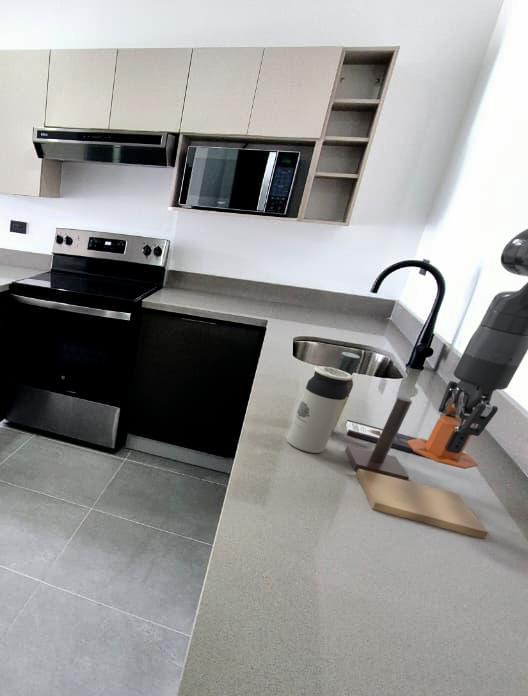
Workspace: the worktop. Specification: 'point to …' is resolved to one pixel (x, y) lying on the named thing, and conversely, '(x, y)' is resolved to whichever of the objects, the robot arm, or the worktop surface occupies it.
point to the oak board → (420, 503)
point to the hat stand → (383, 446)
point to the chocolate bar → (377, 435)
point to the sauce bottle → (347, 365)
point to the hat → (442, 445)
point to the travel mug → (319, 409)
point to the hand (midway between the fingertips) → (445, 444)
